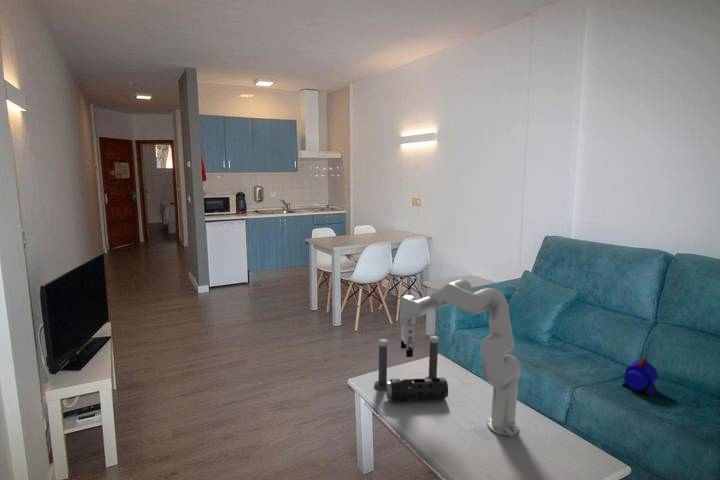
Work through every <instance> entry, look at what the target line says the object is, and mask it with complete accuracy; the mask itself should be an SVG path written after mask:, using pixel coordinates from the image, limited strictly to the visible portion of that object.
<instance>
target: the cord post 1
mask: <svg viewBox="0 0 720 480" xmlns="http://www.w3.org/2000/svg"><path fill="white" fill-rule="evenodd" d="M388 345H389V343H388V339H386V338H381V339H379V340H378V380H376V381H375V382H374V388H375V390H378V391H382V392H386V381H388V380H387V379H388V378H387V377H388V376H387V375H388V371H387V370H388Z"/></svg>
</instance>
